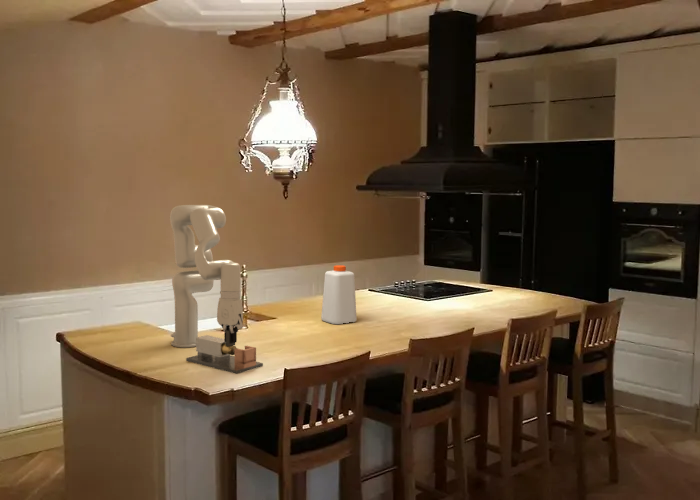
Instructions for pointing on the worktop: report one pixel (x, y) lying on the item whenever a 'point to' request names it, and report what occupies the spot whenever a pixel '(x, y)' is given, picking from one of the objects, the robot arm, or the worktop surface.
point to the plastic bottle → (339, 296)
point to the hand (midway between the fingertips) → (230, 341)
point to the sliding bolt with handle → (228, 345)
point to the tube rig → (223, 356)
